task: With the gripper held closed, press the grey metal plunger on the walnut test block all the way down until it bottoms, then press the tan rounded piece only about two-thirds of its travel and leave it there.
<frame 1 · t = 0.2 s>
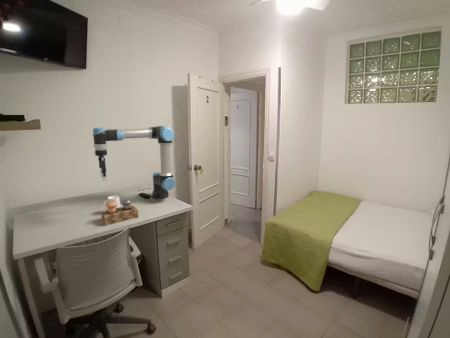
hand: (103, 178, 168), 28 cm above the table, fingers open, 13 cm apart
test block: (120, 218, 167), on the table
plunger grey: (126, 205, 168), point 8 cm above the table, slide at 0.0 cm
tan rounded piece: (111, 208, 162), point 8 cm above the table, slide at 0.0 cm
mug: (112, 212, 177), on the table
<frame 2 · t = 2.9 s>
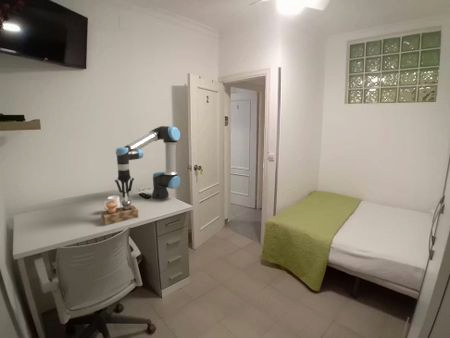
hand: (126, 201, 167), 12 cm above the table, fingers closed
plunger grey: (126, 206, 168), point 8 cm above the table, slide at 0.7 cm, touching gripper
everything else where it was.
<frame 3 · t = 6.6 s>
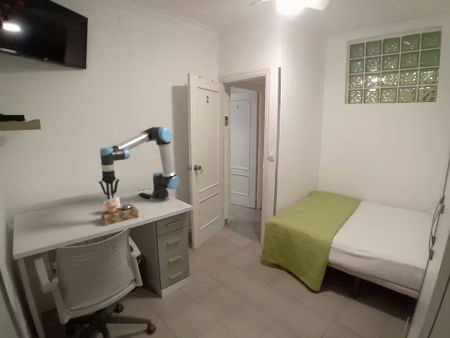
hand: (111, 203, 161), 13 cm above the table, fingers closed
plunger grey: (126, 210, 169), point 5 cm above the table, slide at 4.0 cm
tan rounded piece: (111, 208, 162), point 9 cm above the table, slide at 0.0 cm, touching gripper
everything else where it was.
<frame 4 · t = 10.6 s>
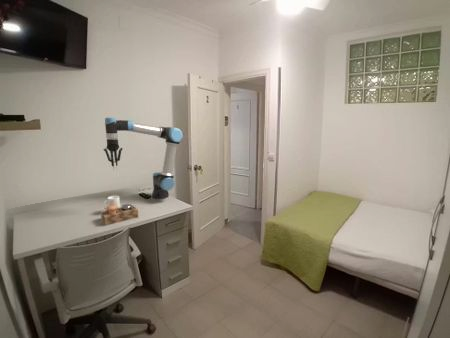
hand: (115, 170, 174), 32 cm above the table, fingers closed
tan rounded piece: (112, 211, 163), point 6 cm above the table, slide at 2.3 cm
everything else where it was.
at the end: plunger grey slide at 4.0 cm; tan rounded piece slide at 2.3 cm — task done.
